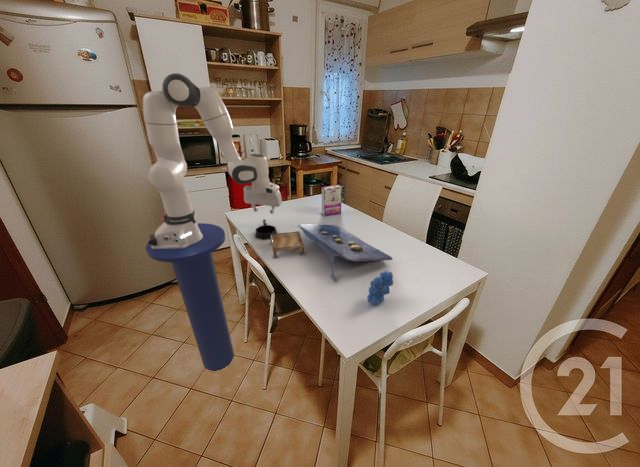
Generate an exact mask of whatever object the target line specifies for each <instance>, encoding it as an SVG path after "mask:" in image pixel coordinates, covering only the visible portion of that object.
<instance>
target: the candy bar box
mask: <svg viewBox="0 0 640 467" xmlns="http://www.w3.org/2000/svg"><path fill="white" fill-rule="evenodd" d="M342 192H343V187H342V186H341V185H339V184H336V185H328V186H322V187H321V214H322V215H323V216H324V217H326V216H332V215H337V214H341V213H342V195H343V194H342Z"/></svg>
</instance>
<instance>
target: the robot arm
mask: <svg viewBox="0 0 640 467" xmlns="http://www.w3.org/2000/svg"><path fill="white" fill-rule="evenodd" d="M161 87H162V89H161V90H151V91H147V92H146V93H145V94H144V95H143V96H142V111H143V120H144V125H145V129H146V134H147V140H148V143H149V145H150V147H151V149H152V150H153V153H154V155H155V157H156V162H154V163H153V164H152V165H151V167H150V169H149V170H148V174H147V178H148V181H149V182H150V184H151V185H152V186H153V187H154V188H155V189H156V190H157V192H158V194H159V196H160V197H161V200H162V203H163V206H164V209H165V211H164V213H163V216H162V221H163V223H161V224H160V225H159V226H158V227H157V228H156V230H155V232H154V233H153V234H150V235H149V241H148V242H149V244H150V245H151V248H152V249H182V248H186V247H188V246H189V245H192V244H194V243H196V242H198V241H200V240H201V239H202V238H203V235H202V233H201V231H200V229H199V227H198V225H197V223H198V222H197V214H196V212H195V209H194V207H193V203H192V199H191V195H190V193H189V192H188V191H187V189H186V187H185V185H184V180H183V178H185V176H186V174H187V172H188V163H187V162H186V160H185V155H184V153H183V150H182V145H181V142H180V136H179V135H180V134H179V129H178V128H179V127H178V122H177V115H176V111H177V108H178V107H181V108H182V107H183V108H187V107H190V108H191V107H194V109H196V111H197V112H198V114H199V116H200V119H201V120H202V123H203V124H204V126H205V128H206V130H207V131H208V133H209V134H210V136H211V137H212V138H213V139H214V140H215V141H216V142H217V144H218V145H219V148H220V150H221V151H222V154H223V156H224V158H225V161H226V171H227V173H228V175H229V177H231V178H232V179H233V181H234V182H235V183H236V184H239V185H245V186H244V187H243V188H242V189H243V201H244V203H245V204H248V205H249V204H250V206H251V207H252V209H253V212H255V213H257V212H258V211H259V208H258V207H257V206H256V205H258V206H268V207H271V209H270V210H269V214H273V215H274V214H275V209H276V208H279V207H280V206H282V203H283V198H282V194H281V192H280V186H279V185H278V184H275V183H274V182H271V181H270V177H269V172H270V171H269V165H268V160H267V157H266V156H264V155H263V154H260V153H250V154H249V155H248V156H247V157H246V158H245V159H242V158H241V157H240V155H239V154H238V151H237V148H236V146H235V144H234V141H233V131H234V126H233V123H232V119H231V116H230V113H229V111H228V109H227V106H226V105H225V103H224V101H223V100H222V97H221V96H220V94H219V93H218V91H217V90H216V89H215V88H213V87H211V86H203V87H198V86H197V85H196V84H194V82H193V81H192V80H191V79H190V78H189V77H188V76H186V75H185V74H182V73H178V72H174V73H170V74H168V75H167V76H165V77H164V79H163V81H162V84H161ZM249 183H251V185H247V184H249Z"/></svg>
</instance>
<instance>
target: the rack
mask: <svg viewBox="0 0 640 467" xmlns="http://www.w3.org/2000/svg"><path fill="white" fill-rule="evenodd" d="M272 235H273V236H272ZM270 238H271V239H270V243H271V248H272V253H273V259H277V258H278V256H277V253H278V252H286V251H287V252H288V251H294V250H295V251H296V250H300V252H301V255H305V249H306V246H305V242H304V239H303V238H302V235H301V233H300V231H298V230H297V231H296V230H295V231H287V232H279V233H277V234H271V235H270Z"/></svg>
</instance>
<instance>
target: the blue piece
mask: <svg viewBox="0 0 640 467" xmlns="http://www.w3.org/2000/svg"><path fill="white" fill-rule="evenodd" d="M297 228H299V229H300V230H301V231H302V232H303V234H304V235H305V236H306V237H307V238H308V239H310V240H311V241H313V243H315V244H317V245H318V246H319V247H320V248H321V249H322V250H323V251H324V252H325V253H327V254H328V255H329V256H330V259H331V277H332V279H333V280H334V281H335V282H337V281H336V277H335V276H336V275H335V272H334V263H335V257H336V256H337V257H340V258H343V259H344V260H346V261H348V262H369V261H370V262H371V261H372V262H373V261H374V262H378V261H392V260H393V256H390V255H388V254H387V253H385V252H384V251H382V250H380V249H379V248H376V247H374V246H372V245H370V244H369V243H367V242H365V241H364V240H361V239H360V238H358V237H357V236H354V235H353V234H351V233H349V232H348V231H346V230H344V229H342V228H340V227H339V226H336V225H334V224H320V223H319V224H317V223H315V224H314V223H310V224H309V223H308V224H307V223H300V224H298V225H297Z"/></svg>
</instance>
